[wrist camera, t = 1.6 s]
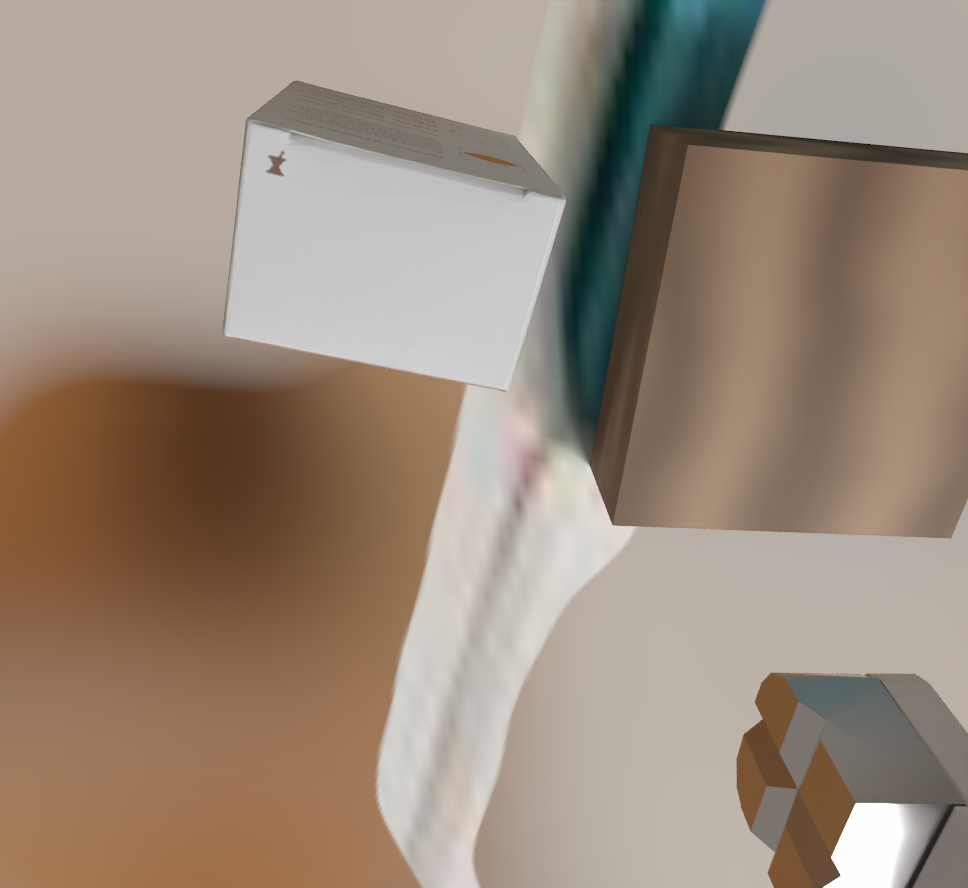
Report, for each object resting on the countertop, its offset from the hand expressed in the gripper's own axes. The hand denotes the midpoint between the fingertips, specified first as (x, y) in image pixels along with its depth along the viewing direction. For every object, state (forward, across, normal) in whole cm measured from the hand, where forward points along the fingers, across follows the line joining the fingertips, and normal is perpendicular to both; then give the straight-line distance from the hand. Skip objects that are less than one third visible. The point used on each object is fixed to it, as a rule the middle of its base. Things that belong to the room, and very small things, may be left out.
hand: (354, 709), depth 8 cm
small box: (+26, 0, 0) cm, 26 cm away
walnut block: (+26, -16, +4) cm, 30 cm away
